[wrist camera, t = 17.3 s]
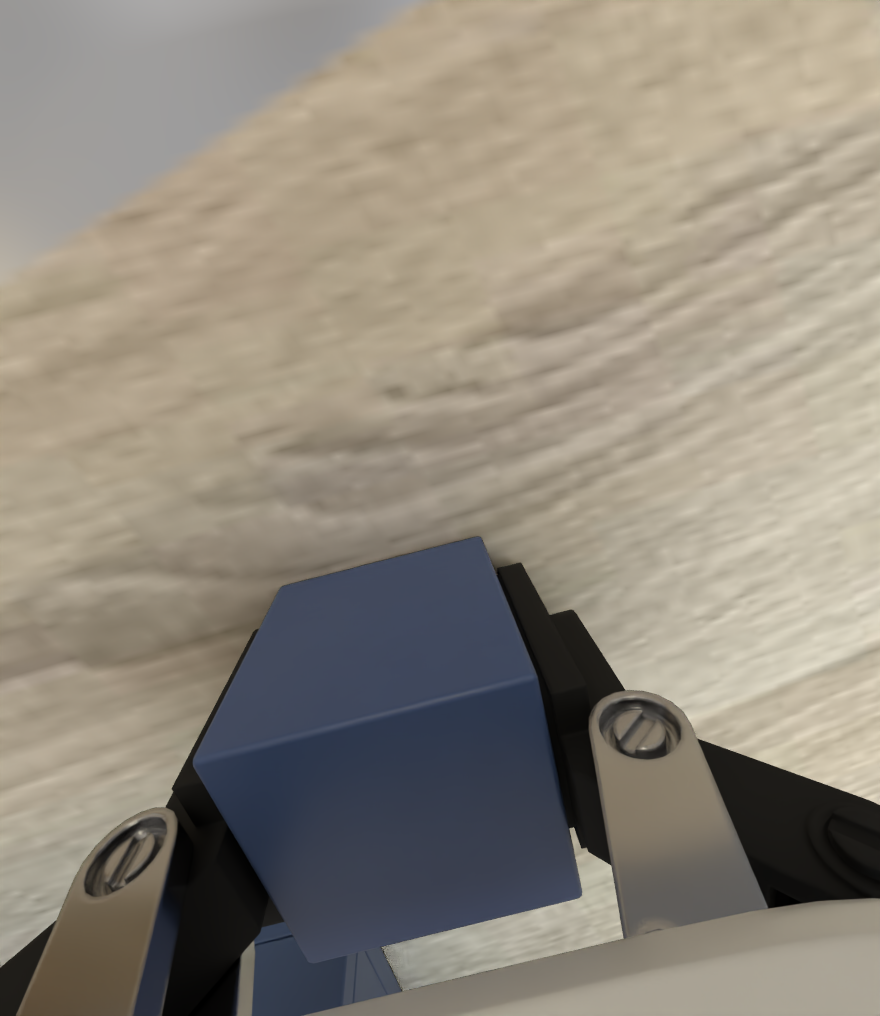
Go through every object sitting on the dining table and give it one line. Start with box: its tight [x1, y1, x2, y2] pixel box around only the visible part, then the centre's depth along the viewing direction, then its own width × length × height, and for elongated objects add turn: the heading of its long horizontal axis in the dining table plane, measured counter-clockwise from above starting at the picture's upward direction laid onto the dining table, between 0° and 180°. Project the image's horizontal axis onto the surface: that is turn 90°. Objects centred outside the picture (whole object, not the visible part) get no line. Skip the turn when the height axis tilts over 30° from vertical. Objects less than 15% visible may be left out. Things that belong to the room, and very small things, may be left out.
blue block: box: [193, 537, 582, 963], centre depth 9 cm, size 4×4×4 cm
